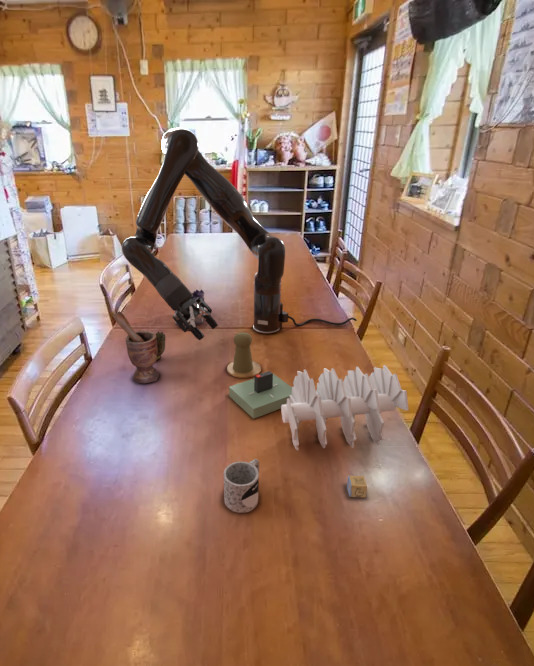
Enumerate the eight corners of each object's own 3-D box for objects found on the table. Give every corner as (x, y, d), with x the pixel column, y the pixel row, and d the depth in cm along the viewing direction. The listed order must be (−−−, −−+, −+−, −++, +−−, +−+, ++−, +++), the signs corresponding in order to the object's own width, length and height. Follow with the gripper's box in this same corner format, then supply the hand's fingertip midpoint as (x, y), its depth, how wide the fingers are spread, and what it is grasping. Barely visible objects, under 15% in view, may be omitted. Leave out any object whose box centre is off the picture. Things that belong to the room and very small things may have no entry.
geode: (180, 307, 180) (183, 283, 176) (209, 311, 179) (212, 287, 175) (169, 326, 161) (171, 300, 157) (201, 331, 161) (204, 305, 157)
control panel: (271, 381, 128) (271, 372, 127) (298, 402, 119) (298, 391, 118) (229, 396, 122) (228, 386, 121) (253, 418, 113) (253, 408, 111)
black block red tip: (269, 385, 121) (269, 369, 119) (272, 388, 120) (273, 372, 118) (254, 390, 119) (254, 374, 117) (257, 393, 117) (257, 377, 115)
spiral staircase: (280, 443, 110) (380, 431, 111) (294, 464, 92) (413, 450, 94) (272, 368, 110) (372, 357, 111) (285, 375, 92) (404, 362, 94)
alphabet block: (346, 486, 92) (347, 474, 90) (362, 486, 91) (363, 475, 90) (349, 498, 89) (351, 486, 87) (365, 498, 89) (367, 486, 87)
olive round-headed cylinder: (255, 364, 136) (255, 331, 131) (249, 374, 131) (249, 340, 126) (236, 361, 138) (236, 328, 133) (230, 371, 133) (229, 337, 128)
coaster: (249, 358, 141) (249, 356, 141) (267, 372, 133) (267, 370, 133) (220, 366, 136) (220, 365, 136) (238, 381, 129) (238, 379, 128)
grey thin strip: (247, 518, 85) (247, 491, 82) (217, 503, 88) (216, 477, 85) (271, 484, 92) (272, 458, 90) (243, 472, 96) (243, 447, 93)
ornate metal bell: (169, 354, 144) (167, 331, 141) (164, 365, 138) (162, 341, 134) (146, 353, 145) (144, 330, 142) (140, 364, 138) (137, 341, 135)
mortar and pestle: (117, 386, 127) (108, 321, 119) (122, 370, 135) (113, 308, 127) (159, 384, 128) (152, 319, 119) (161, 369, 136) (155, 307, 127)
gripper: (167, 291, 127) (205, 335, 127) (192, 276, 138) (227, 317, 139) (153, 306, 131) (189, 349, 131) (178, 290, 143) (212, 330, 143)
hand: (209, 332), depth 135 cm, fingers open, 8 cm apart
